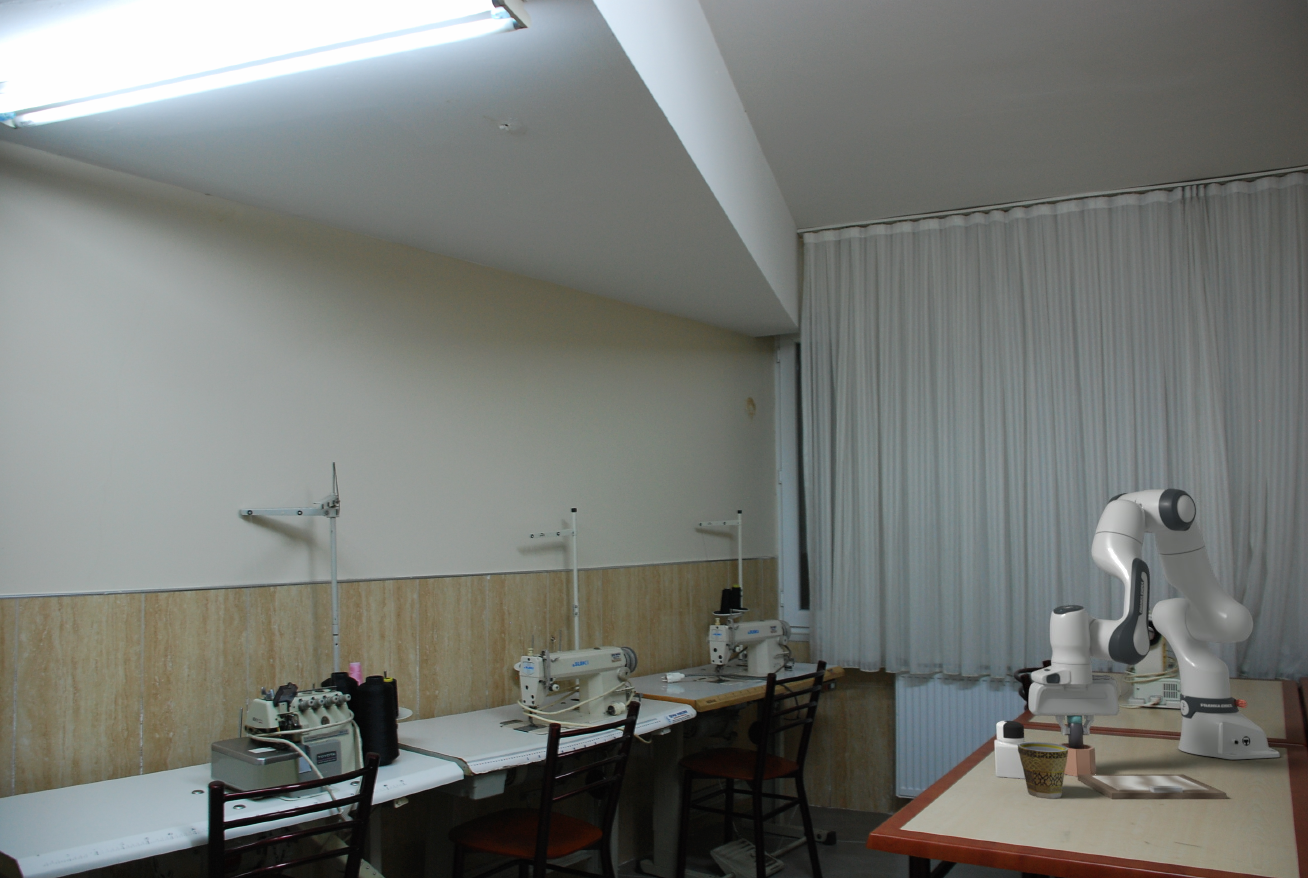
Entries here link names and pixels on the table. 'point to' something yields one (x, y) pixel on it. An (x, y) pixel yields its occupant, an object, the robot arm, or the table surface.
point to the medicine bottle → (1009, 749)
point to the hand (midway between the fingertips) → (1075, 734)
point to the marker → (1075, 732)
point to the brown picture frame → (1151, 787)
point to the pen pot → (1080, 761)
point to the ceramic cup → (1043, 768)
